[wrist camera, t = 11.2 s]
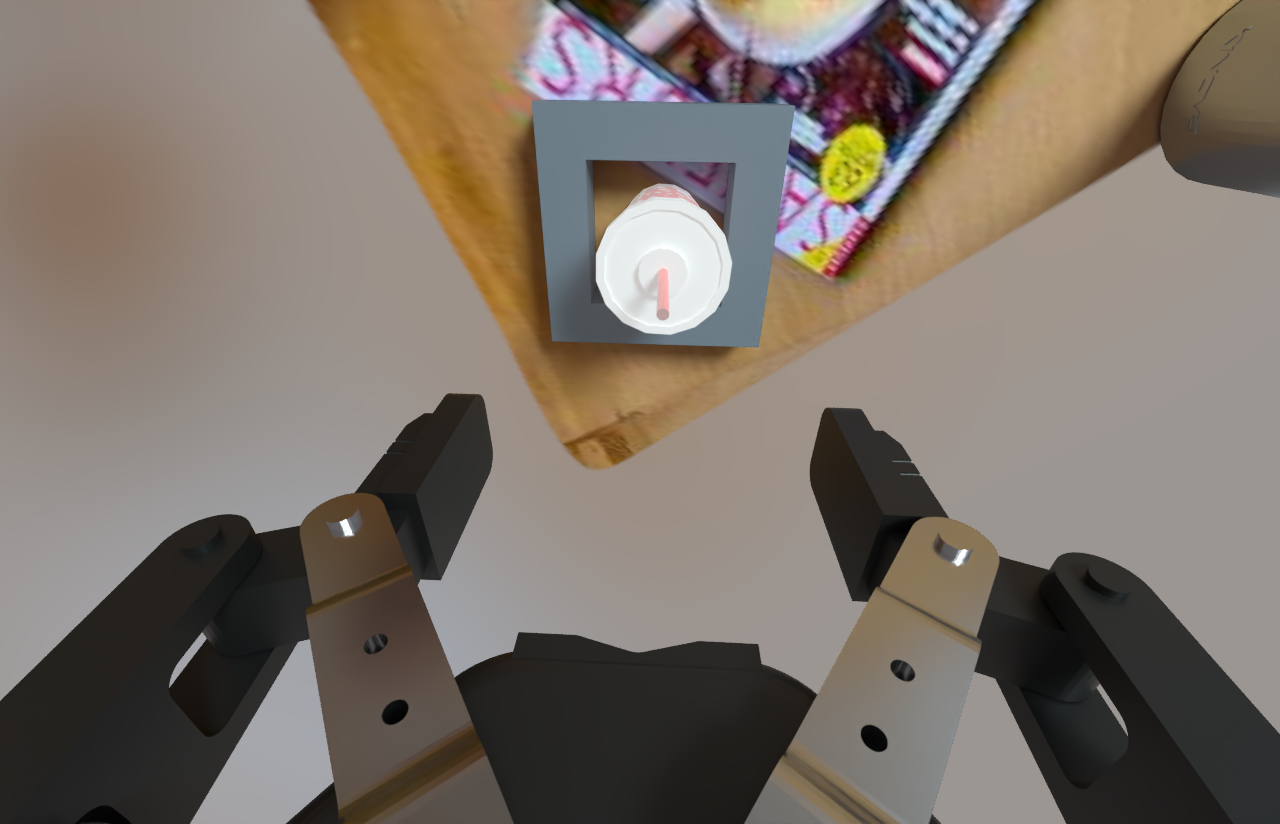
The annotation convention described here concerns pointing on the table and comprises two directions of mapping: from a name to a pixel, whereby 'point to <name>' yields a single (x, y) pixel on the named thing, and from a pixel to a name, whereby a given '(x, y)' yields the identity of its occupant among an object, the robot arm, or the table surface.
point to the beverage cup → (663, 262)
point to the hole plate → (658, 134)
